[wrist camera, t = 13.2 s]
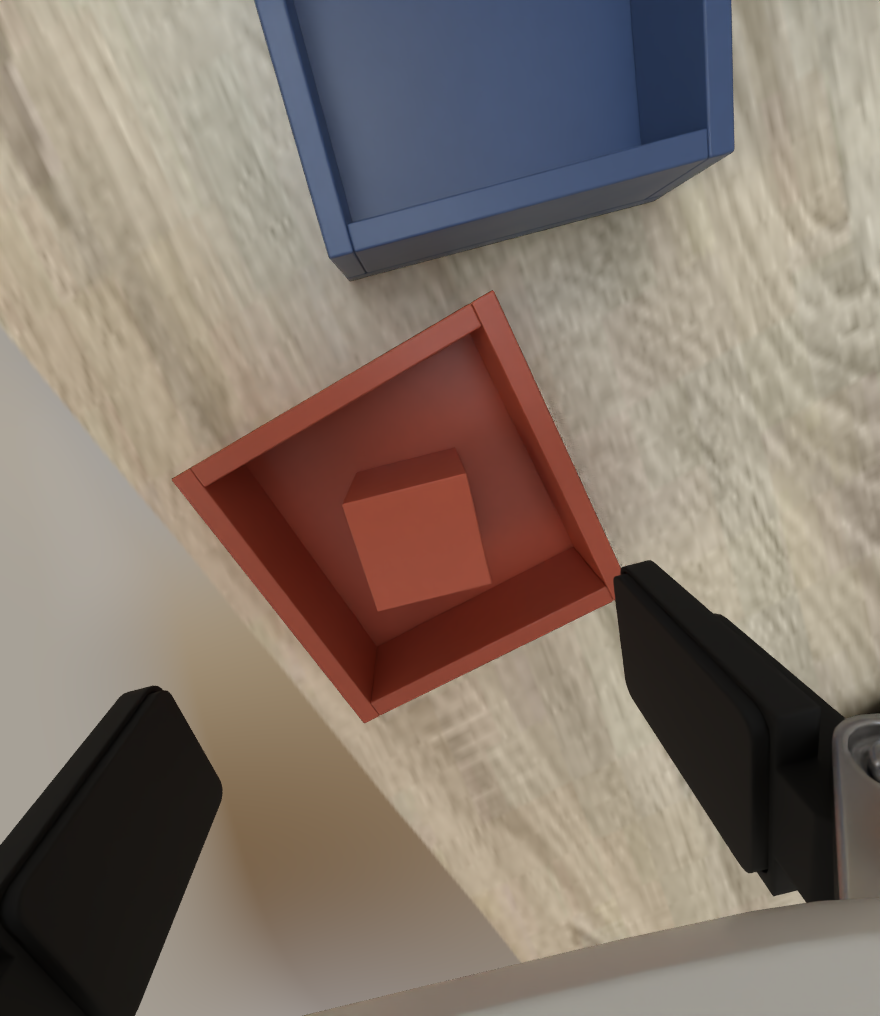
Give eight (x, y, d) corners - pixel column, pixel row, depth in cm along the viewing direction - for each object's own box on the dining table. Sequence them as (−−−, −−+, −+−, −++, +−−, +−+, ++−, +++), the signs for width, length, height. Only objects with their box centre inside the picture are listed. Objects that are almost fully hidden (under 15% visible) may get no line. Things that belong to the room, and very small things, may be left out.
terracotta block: (384, 561, 22) (377, 612, 17) (355, 472, 20) (341, 504, 16) (476, 538, 22) (492, 584, 17) (455, 447, 20) (466, 472, 16)
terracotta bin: (372, 654, 24) (364, 724, 20) (224, 450, 20) (170, 479, 16) (588, 544, 23) (632, 592, 18) (473, 303, 19) (493, 289, 14)
